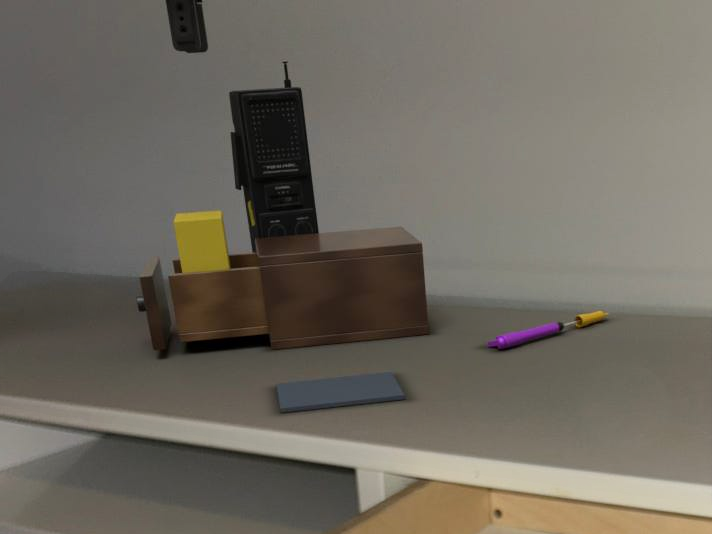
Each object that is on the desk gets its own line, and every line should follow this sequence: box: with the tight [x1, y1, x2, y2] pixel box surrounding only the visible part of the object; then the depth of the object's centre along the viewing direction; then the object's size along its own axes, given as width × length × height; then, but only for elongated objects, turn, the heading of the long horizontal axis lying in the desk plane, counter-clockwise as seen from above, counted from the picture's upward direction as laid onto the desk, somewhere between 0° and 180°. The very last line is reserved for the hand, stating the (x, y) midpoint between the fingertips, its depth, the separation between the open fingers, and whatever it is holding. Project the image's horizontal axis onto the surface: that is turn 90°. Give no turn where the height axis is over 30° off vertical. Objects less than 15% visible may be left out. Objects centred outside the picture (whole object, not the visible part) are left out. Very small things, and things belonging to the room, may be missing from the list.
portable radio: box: [228, 61, 320, 252], centre depth 116 cm, size 8×6×25 cm
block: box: [173, 210, 231, 273], centre depth 107 cm, size 4×7×10 cm, turn 12°
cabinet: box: [255, 226, 430, 351], centre depth 110 cm, size 16×14×9 cm
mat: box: [275, 371, 406, 414], centre depth 89 cm, size 10×8×1 cm
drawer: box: [135, 251, 269, 351], centre depth 108 cm, size 16×12×7 cm
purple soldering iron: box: [487, 310, 610, 350], centre depth 105 cm, size 3×1×16 cm
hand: (192, 51), depth 91 cm, fingers open, 8 cm apart
